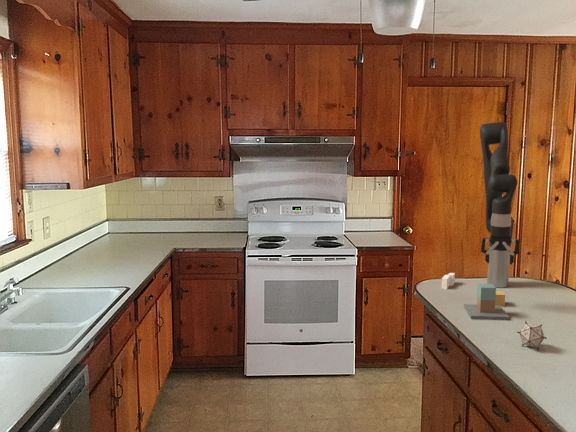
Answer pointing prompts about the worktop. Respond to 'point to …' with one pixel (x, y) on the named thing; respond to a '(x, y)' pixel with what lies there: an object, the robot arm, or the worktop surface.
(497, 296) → the ochre block
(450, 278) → the notched block
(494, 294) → the teal block
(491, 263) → the robot arm
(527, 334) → the game die
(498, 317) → the baseplate
